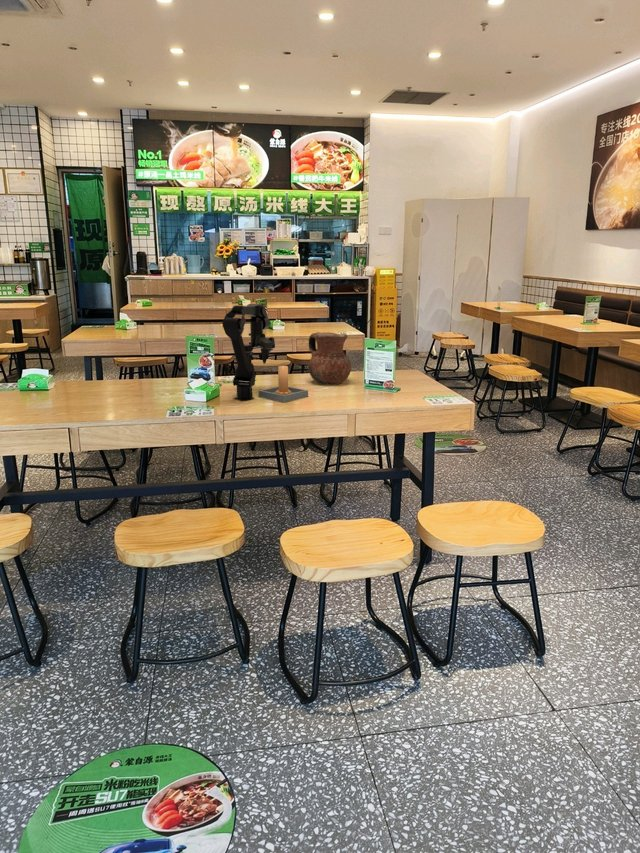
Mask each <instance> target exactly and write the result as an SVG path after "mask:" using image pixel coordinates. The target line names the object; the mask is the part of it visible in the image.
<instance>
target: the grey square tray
mask: <svg viewBox="0 0 640 853" xmlns="http://www.w3.org/2000/svg"><path fill="white" fill-rule="evenodd" d="M277 390H279V389H278V386H275V387H270V388H269V387H268V388H265V389H260V390H258V397H259V398H262V399H266V400H271V401H275V402H280V403H289V402H292V401H297V400H300V399H305V398H308V397H309V390H307V389H304V388H297V387H294V386H289V385H288V390H290V391H291V394H287V395H280V394H275V391H277Z"/></svg>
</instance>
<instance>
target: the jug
mask: <svg viewBox="0 0 640 853" xmlns="http://www.w3.org/2000/svg"><path fill="white" fill-rule="evenodd" d="M348 337H349V336H348V334H347V333H341V334H340V333H335V332H329V331H328V332H327V331H325V332H319V331H317V332H313V333H310V335H309V338H308V349H309V350H308V351H309V353H310V354H311V357H310V358H309V359H310V360H309V361H308V363H307V364H308V365H307V366H308V367H307V369H308V372H309V375H310V376H311V378H312V379H313V380H314V382H316V383H317V384H319V385H339V384H340V385H341V384H343V383H344V382H345V381H347V380H348V378H349V377H350V374H351V372H352V369H353V367H352V363H351V361H350V359H349V357H348V356H347V355H346V354H345V352H344V345H345V342H346V340H347V339H348ZM316 346H317V347H316Z"/></svg>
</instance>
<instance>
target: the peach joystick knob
mask: <svg viewBox="0 0 640 853" xmlns="http://www.w3.org/2000/svg"><path fill="white" fill-rule="evenodd" d="M277 368H278V373H277V375H278V376H277V378H278V384H277V385H278V386H277V387H278V389H279V390H277V391H275V394H280V395H287V394H291V391H290V390H288V386H289V366H287V365H278V367H277Z"/></svg>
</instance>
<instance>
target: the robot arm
mask: <svg viewBox="0 0 640 853" xmlns="http://www.w3.org/2000/svg"><path fill="white" fill-rule="evenodd" d="M246 315H247V316H248V317H250V319H249V320H248V322H249V325H250V330H249V332H250V333H248V336H249V337H250V341H249V342H248V344H246V343H244V340H243V333H244V330H245V325H246V323H247V321H246V317H245V316H246ZM235 316H241V318H239V317H235ZM221 323H222V328H223V331H224V334H225V335H226V336H227V337H228V338H229V339H230V341H231V346H232V350H233V353H234V357H235V362H236V364H237V367H236V370H235V373H234V377H233V380H232V384H233V386H236V397H234V399H235V400H240V401H249V400H255V397H254V396H253V388H252V387H254V386H255V385H256V378H257V377H256V375H257V373H256V372H255V367H254V366H255V365H254V364H253V362H252V356H253V354H254V352H253V350H255V349H260V353H261V359H262V363H263V364H266V363H267V360H268V357H269V354H270V352H272V351H273V350H274V349H275V348H276V344H275V342H276V341H275V337H273V336H269V337H266V333H264V330H267V329H269V328H270V326H271V325H272V324H271V320H270V318H269V317H268V313H267V310H266V307H265V305H264V304H263V303H249V304H247V305H238V304H237V305H233V306H232V307H231V310H230V311H229V312H228V313H226V314H225V316H224V318H223V320H222V322H221Z"/></svg>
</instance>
